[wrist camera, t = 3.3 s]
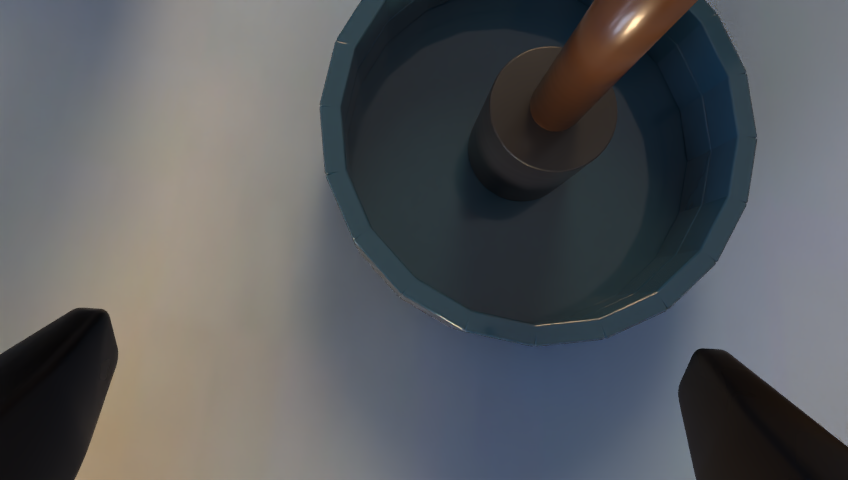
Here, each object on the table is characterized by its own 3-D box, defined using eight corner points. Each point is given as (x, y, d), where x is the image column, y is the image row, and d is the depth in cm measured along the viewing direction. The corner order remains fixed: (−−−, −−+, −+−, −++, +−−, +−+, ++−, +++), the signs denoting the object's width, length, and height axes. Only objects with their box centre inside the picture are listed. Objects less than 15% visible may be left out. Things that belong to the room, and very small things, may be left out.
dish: (755, 248, 25) (829, 236, 21) (422, 401, 23) (430, 420, 19) (600, -69, 26) (641, -141, 22) (274, 58, 25) (252, 6, 21)
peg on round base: (582, 188, 24) (851, 15, 10) (482, 211, 24) (619, 66, 10) (555, 90, 25) (780, -206, 11) (457, 112, 24) (553, -164, 10)
